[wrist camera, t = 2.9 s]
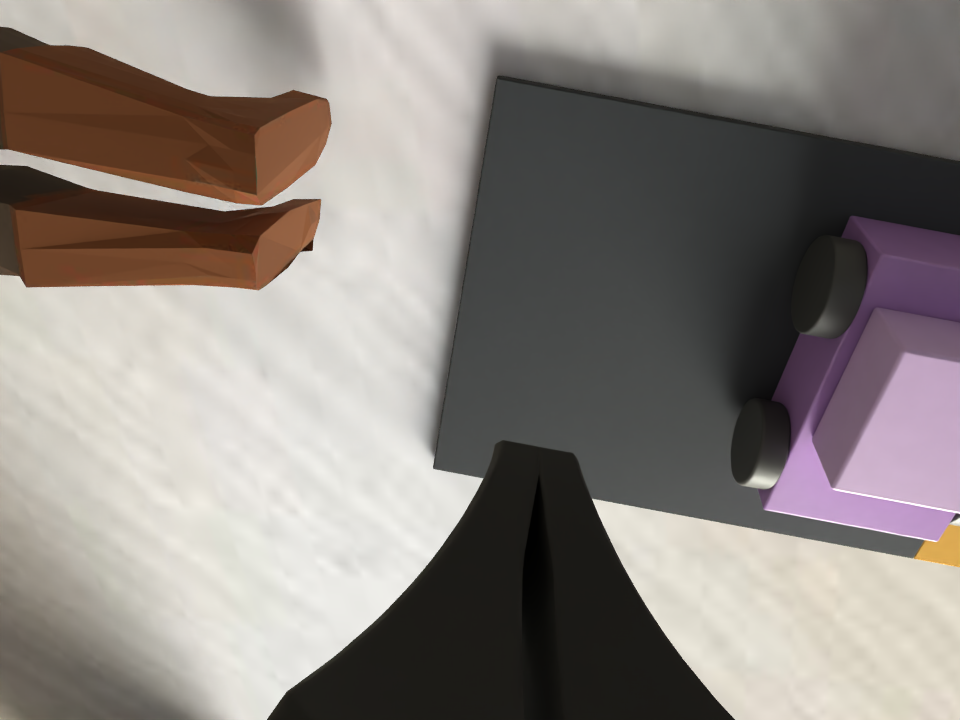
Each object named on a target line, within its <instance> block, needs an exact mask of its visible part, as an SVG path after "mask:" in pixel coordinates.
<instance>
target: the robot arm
mask: <svg viewBox="0 0 960 720" xmlns="http://www.w3.org/2000/svg"><path fill="white" fill-rule="evenodd" d="M267 720H735V719H734V718H733V717H732V716H731V715H730V714H729V713H728V712H727V711H726V710H725V709H724V708H723V706H722V705H721V704H720V703H719V702H718V701H717V700H716V699H715V697H714V696H713V695H712V694H711V693H710V691H709V690H708V689H707V688H706V687H705V685H704V684H703V683H702V682H701V681H700V679H699V678H698V677H697V676H696V674H695V673H694V672H693V671H692V670H691V668H690V667H689V666H688V665H687V663H686V662H685V661H684V660H683V659H682V657H681V656H680V654H679V653H678V652H677V650H676V649H675V648H674V646H673V645H672V643H671V642H670V641H669V639H668V638H667V637H666V635H665V634H664V632H663V631H662V629H661V628H660V626H659V625H658V623H657V622H656V620H655V619H654V617H653V616H652V614H651V613H650V611H649V610H648V608H647V606H646V605H645V603H644V602H643V600H642V598H641V597H640V595H639V593H638V592H637V590H636V588H635V587H634V585H633V583H632V581H631V579H630V578H629V576H628V574H627V572H626V570H625V569H624V567H623V565H622V563H621V561H620V559H619V557H618V555H617V553H616V551H615V549H614V547H613V545H612V543H611V541H610V539H609V537H608V535H607V532H606V530H605V528H604V526H603V524H602V522H601V520H600V517H599V515H598V513H597V510H596V508H595V506H594V503H593V501H592V498H591V496H590V493H589V491H588V488H587V485H586V483H585V480H584V477H583V474H582V471H581V468H580V465H579V461H578V459H577V458H576V456H575V455H574V453H570V452H565V451H560V450H554V449H549V448H543V447H538V446H533V445H527V444H522V443H516V442H511V441H506V440H502V441H500V442H498V443H496V444H495V446H494V450H493V455H492V459H491V462H490V465H489V467H488V470H487V472H486V474H485V476H484V479H483V481H482V483H481V485H480V487H479V489H478V491H477V492H476V494H475V496H474V497H473V499H472V501H471V503H470V504H469V506H468V508H467V510H466V511H465V513H464V515H463V516H462V518H461V519H460V521H459V522H458V524H457V525H456V527H455V528H454V530H453V531H452V532H451V534H450V535H449V537H448V538H447V540H446V541H445V543H444V544H443V545H442V547H441V548H440V550H439V551H438V552H437V553H436V555H435V556H434V557H433V559H432V560H431V561H430V562H429V564H428V565H427V566H426V567H425V569H424V570H423V571H422V572H421V573H420V574H419V576H418V577H417V578H416V579H415V580H414V582H413V583H412V584H411V585H410V586H409V587H408V588H407V589H406V590H405V591H404V592H403V593H402V595H401V596H400V597H399V598H398V599H397V600H396V601H395V602H394V603H393V604H392V605H391V606H390V607H389V608H388V609H387V610H386V611H385V612H384V613H383V614H382V615H381V616H380V617H379V618H378V619H377V620H376V621H375V622H374V623H373V624H372V625H370V626H369V627H368V628H367V629H366V630H365V631H364V632H362V633H361V634H360V635H359V636H358V637H357V638H356V639H354V640H353V641H352V642H351V643H350V644H349V645H348V646H346V647H345V648H344V649H343V650H342V651H341V652H339V653H338V654H337V655H336V656H334V657H333V658H332V659H331V660H329V661H328V662H327V663H325V664H324V665H323V666H321V667H320V668H319V669H317V670H316V671H314V672H313V673H312V674H310V675H309V676H308V677H306V678H305V679H304V680H302V681H301V682H299V683H298V684H297V685H295V686H294V687H293V688H291V689H290V690H288V691H287V692H286V694H285V695H284V696H283V698H282V699H281V700H280V702H279V703H278V705H277V706H276V708H275V709H274V710H273V712H272V713H271V715H270V716H269V717H268V719H267Z"/></svg>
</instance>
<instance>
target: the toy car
mask: <svg viewBox="0 0 960 720" xmlns="http://www.w3.org/2000/svg"><path fill="white" fill-rule="evenodd" d="M791 315H792V321H793V325H794V327H795V329H796V330H797V331H798V332H799V333H800V334H799V337H798V339H797V341H796V344H795V346H794V348H793V351H792V353H791V355H790V358H789V360H788V362H787V365H786V367H785V369H784V372H783V374H782V376H781V379H780V381H779V383H778V386H777V388H776V390H775V393H774V395H773V397H772V400H771V401H770V400H765V399H759V398H753V399H750V400H749V401H748V402H747V403H746V404H745V405H744V407H743V408H742V410H741V412H740V414H739V416H738V419H737V422H736V425H735V428H734V432H733V437H732V443H731V470H732V475H733V478H734V480H735V481H736V482H737V483H738V484H739V485H742V486H747V487H752V488H757V489H758V492H759V495H760V499H761V502H762V506H763V509H765V510H768V511H774V512H779V513H784V514H790V515H795V516H800V517H806V518H811V519H816V520H822V521H827V522H832V523H838V524H843V525H849V526H854V527H859V528H865V529H870V530H875V531H881V532H886V533H891V534H897V535H902V536H907V537H913V538H918V539H923V540H929V541H934V542H937V541H939V539H940V537H941V536H942V534H943V533H944V531H945V530H946V528H947V526H948V525H949V524H950V525H955V526H960V235H954V234H949V233H944V232H938V231H933V230H927V229H922V228H917V227H911V226H906V225H901V224H895V223H890V222H885V221H879V220H874V219H868V218H863V217H858V216H851V217H850V218H849V220H848V223H847V225H846V227H845V230H844V232H843V234H842V237H836V236H830V235H823V236H820V237H818V238H817V239H816V240H815V241H814V242H813V243H812V244H811V245H810V247H809V248H808V250H807V251H806V253H805V255H804V257H803V259H802V261H801V263H800V266H799V269H798V271H797V275H796V278H795V282H794V286H793V292H792V300H791Z"/></svg>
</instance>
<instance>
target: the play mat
mask: <svg viewBox="0 0 960 720" xmlns="http://www.w3.org/2000/svg"><path fill="white" fill-rule="evenodd" d="M851 216H858V217H863V218H868V219H874V220H879V221H885V222H890V223H895V224H901V225H906V226H911V227H917V228H922V229H927V230H933V231H938V232H944V233H949V234H954V235H960V161H955V160H950V159H945V158H939V157H934V156H929V155H923V154H918V153H913V152H907V151H902V150H896V149H891V148H886V147H880V146H875V145H870V144H864V143H859V142H853V141H848V140H843V139H837V138H832V137H827V136H821V135H816V134H811V133H805V132H800V131H794V130H789V129H784V128H778V127H773V126H768V125H762V124H757V123H752V122H746V121H741V120H735V119H730V118H725V117H719V116H714V115H709V114H703V113H698V112H693V111H687V110H682V109H676V108H671V107H666V106H660V105H655V104H650V103H644V102H639V101H633V100H628V99H623V98H617V97H612V96H607V95H601V94H596V93H591V92H585V91H580V90H574V89H569V88H564V87H558V86H553V85H548V84H542V83H537V82H532V81H526V80H521V79H515V78H510V77H505V76H497V79H496V85H495V91H494V97H493V103H492V109H491V115H490V122H489V128H488V134H487V140H486V146H485V152H484V158H483V165H482V171H481V177H480V183H479V189H478V195H477V201H476V208H475V214H474V220H473V226H472V232H471V238H470V244H469V251H468V257H467V263H466V269H465V275H464V281H463V287H462V294H461V300H460V306H459V312H458V318H457V324H456V330H455V336H454V343H453V349H452V355H451V361H450V367H449V373H448V379H447V386H446V392H445V398H444V404H443V410H442V416H441V422H440V429H439V435H438V441H437V447H436V453H435V459H434V465H433V469H437V470H442V471H448V472H453V473H458V474H464V475H469V476H474V477H480V478H484V476H485V474H486V472H487V470H488V467H489V465H490V462H491V459H492V455H493V450H494V446H495V444H496V443H498V442H500V441H502V440H506V441H511V442H516V443H522V444H527V445H533V446H538V447H543V448H549V449H554V450H560V451H565V452H570V453H574V455H575V456H576V458H577V459H578V461H579V465H580V468H581V471H582V474H583V477H584V480H585V483H586V485H587V488H588V491H589V493H590V496H591V498H592V499H597V500H603V501H608V502H613V503H619V504H624V505H629V506H635V507H640V508H646V509H651V510H656V511H662V512H667V513H672V514H678V515H683V516H688V517H694V518H699V519H704V520H710V521H715V522H720V523H726V524H731V525H736V526H742V527H747V528H753V529H758V530H763V531H769V532H774V533H779V534H785V535H790V536H795V537H801V538H806V539H811V540H817V541H822V542H827V543H833V544H838V545H843V546H849V547H854V548H860V549H865V550H870V551H876V552H881V553H886V554H892V555H897V556H902V557H908V558H914V559H918V560H924V561H929V562H934V563H940V564H945V565H950V566H956V567H960V526H955V525H950V524H949V525H948V526H947V528H946V530H945V531H944V533H943V534H942V536H941V537H940V539H939V541H937V542H934V541H929V540H923V539H918V538H913V537H907V536H902V535H897V534H891V533H886V532H881V531H875V530H870V529H865V528H859V527H854V526H849V525H843V524H838V523H832V522H827V521H822V520H816V519H811V518H806V517H800V516H795V515H790V514H784V513H779V512H774V511H768V510H765V509H763V506H762V502H761V499H760V495H759V492H758V489H757V488H752V487H747V486H742V485H739V484H738V483H737V482H736V481H735V480H734V478H733V475H732V470H731V443H732V437H733V432H734V428H735V425H736V422H737V419H738V416H739V414H740V412H741V410H742V408H743V407H744V405H745V404H746V403H747V402H748V401H749V400H750V399H753V398H759V399H765V400H770V401H771V400H772V397H773V395H774V393H775V390H776V388H777V386H778V383H779V381H780V379H781V376H782V374H783V372H784V369H785V367H786V365H787V362H788V360H789V358H790V355H791V353H792V351H793V348H794V346H795V344H796V341H797V339H798V337H799V334H800V333H799V332H798V331H797V330H796V329H795V327H794V325H793V321H792V315H791V300H792V292H793V286H794V282H795V278H796V275H797V271H798V269H799V266H800V263H801V261H802V259H803V257H804V255H805V253H806V251H807V250H808V248H809V247H810V245H811V244H812V243H813V242H814V241H815V240H816V239H817V238H818V237H820V236H823V235H830V236H836V237H842V234H843V232H844V230H845V227H846V225H847V223H848V220H849V218H850V217H851Z"/></svg>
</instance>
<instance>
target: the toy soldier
mask: <svg viewBox="0 0 960 720" xmlns="http://www.w3.org/2000/svg"><path fill="white" fill-rule="evenodd" d="M331 124H332V123H331V115H330V106H329V102H328V100H327V99H325V98H321V97H318V96H314V95H310V94H306V93H302V92H299V91H295V90H292V91H290V92H287V93H284V94H281V95H278V96H275V97H273V98H252V97H215V96H207V95H204V94H201V93H197V92H194V91H191V90H188V89H185V88H183V87H180V86H178V85H175V84H173V83H171V82H168V81H166V80H163V79H161V78H159V77H156V76H154V75H152V74H149V73H147V72H144V71H142V70H140V69H137V68H135V67H132V66H130V65H128V64H125V63H123V62H120V61H118V60H116V59H113V58H111V57H109V56H106V55H104V54H101V53H99V52H97V51H94V50H92V49H89V48H85V47H77V46H53V45H48V44H46V43H43V42H41V41H39V40H37V39H34V38H32V37H30V36H28V35H25V34H23V33H21V32H18V31H16V30H14V29H12V28H5V27H0V149H9V150H13V151H18V152H22V153H26V154H30V155H34V156H38V157H42V158H47V159H51V160H55V161H59V162H63V163H67V164H72V165H76V166H80V167H84V168H88V169H92V170H97V171H101V172H105V173H109V174H113V175H117V176H121V177H126V178H130V179H134V180H138V181H142V182H146V183H151V184H155V185H159V186H163V187H167V188H171V189H176V190H180V191H184V192H188V193H193V194H197V195H202V196H206V197H211V198H215V199H220V200H225V201H229V202H234V203H241V204H253V205H263V204H264V203H266V202H267V201H269V200H270V199H272V198H273V197H274V196H276V195H277V194H279V193H280V192H282V191H283V190H285V189H286V188H287V187H289V186H290V185H291V184H292V183H294V182H295V181H296V180H297V179H298V178H300V177H301V176H302V175H303V174H305V173H306V172H307V171H308V170H310V169H311V168H312V167H313V166H315V164H316V162H317V160H318V158H319V156H320V154H321V152H322V150H323V148H324V147H325V145H326V141H327V138H328V134H329V131H330V127H331ZM320 207H321V199H293V200H290V201H287V202H285V203H282V204H279V205H276V206H273V207H264V208H255V209H245V210H236V211H226V212H224V211H218V210H212V209H206V208H200V207H194V206H188V205H182V204H176V203H169V202H163V201H157V200H151V199H145V198H139V197H133V196H127V195H121V194H115V193H109V192H103V191H97V190H93V189H89V188H86V187H83V186H80V185H77V184H75V183H72V182H69V181H66V180H64V179H61V178H58V177H55V176H53V175H50V174H47V173H44V172H41V171H39V170H36V169H33V168H30V167H28V166H11V165H0V275H14V276H20V277H21V279H22V281H23V282H24V284H25V286H26V287H70V286H139V285H204V286H220V287H236V288H244V289H253V290H260V289H261V288H263V287H264V286H266V285H267V284H268V283H270V282H271V281H272V280H273V279H275V278H276V277H277V276H278V275H279V274H281V273H282V272H283V271H284V270H286V269H287V268H288V267H289V266H290V264H291V263H292V262H293V260H294V259H295V258H296V256H297V255H298V254H299V252H303V251H313V239H314V235H315V232H316V229H317V226H318V223H319V219H320Z"/></svg>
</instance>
